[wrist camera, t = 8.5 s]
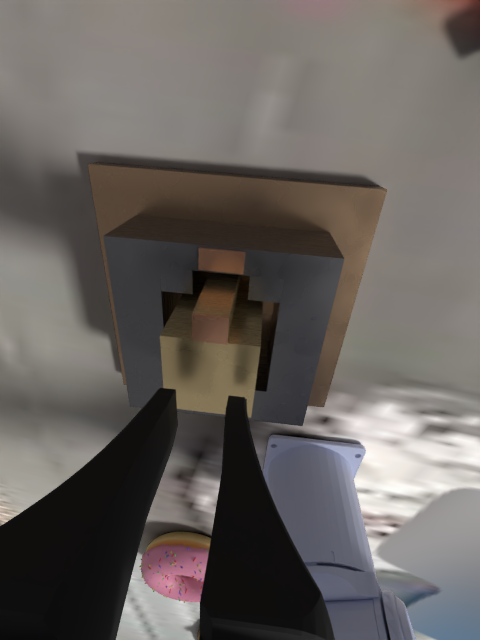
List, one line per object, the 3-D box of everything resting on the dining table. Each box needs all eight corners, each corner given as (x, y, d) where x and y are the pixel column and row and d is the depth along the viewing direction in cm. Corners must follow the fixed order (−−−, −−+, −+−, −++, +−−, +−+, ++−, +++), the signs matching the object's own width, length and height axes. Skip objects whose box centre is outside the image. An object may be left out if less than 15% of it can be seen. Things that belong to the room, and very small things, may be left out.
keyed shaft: (257, 333, 20) (251, 419, 14) (195, 326, 21) (164, 408, 14) (266, 256, 18) (264, 322, 12) (196, 249, 18) (157, 310, 12)
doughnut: (253, 557, 39) (251, 600, 35) (190, 575, 43) (183, 615, 39) (191, 515, 35) (182, 558, 31) (129, 539, 39) (115, 580, 36)
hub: (322, 397, 24) (333, 456, 20) (128, 375, 25) (98, 428, 20) (381, 186, 16) (420, 207, 12) (96, 162, 17) (36, 173, 13)
